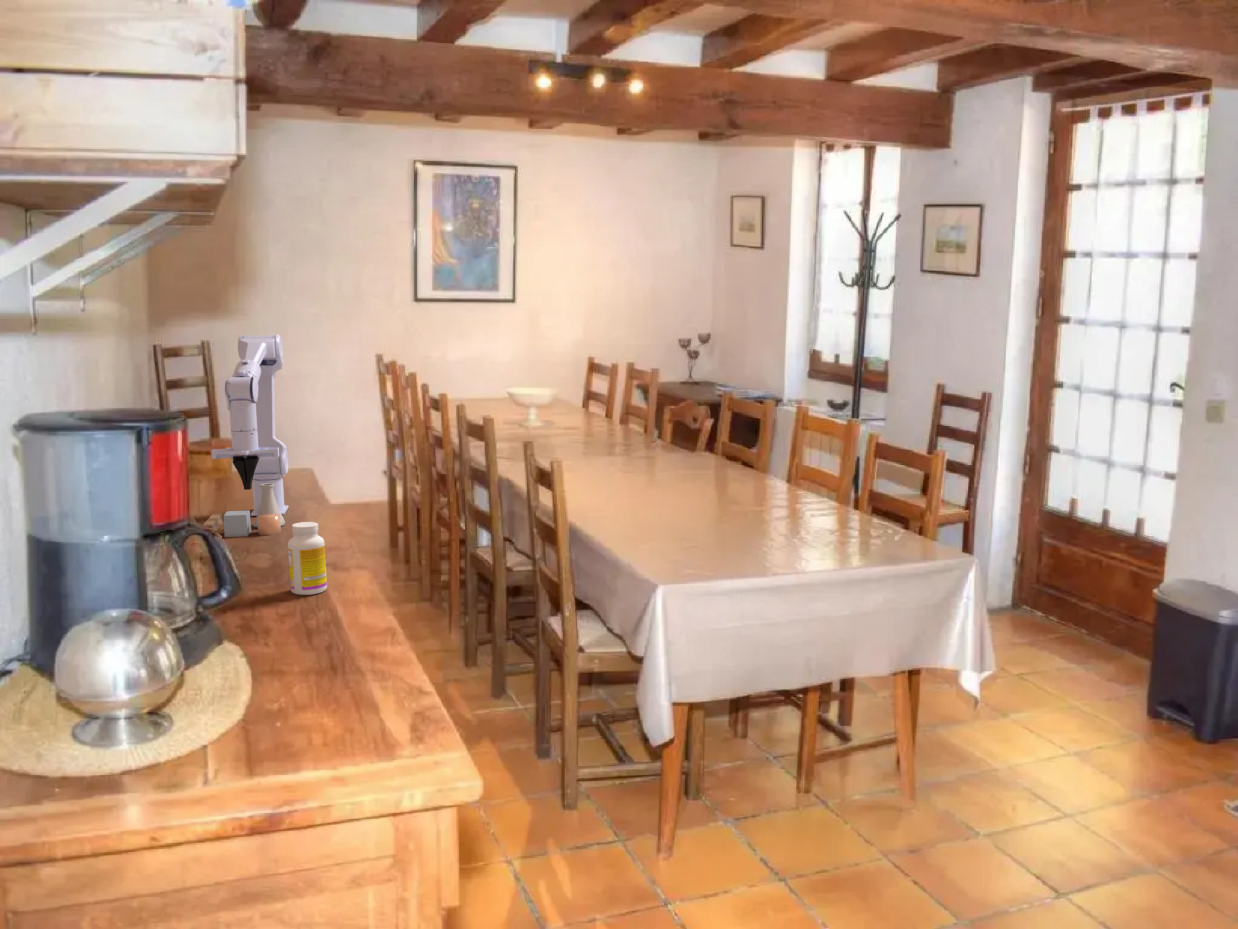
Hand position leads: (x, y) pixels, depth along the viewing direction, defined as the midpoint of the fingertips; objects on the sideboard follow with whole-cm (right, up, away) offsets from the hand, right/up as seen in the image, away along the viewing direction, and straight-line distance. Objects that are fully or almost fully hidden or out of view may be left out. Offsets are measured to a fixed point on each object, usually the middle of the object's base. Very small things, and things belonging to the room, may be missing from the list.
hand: (247, 488), depth 257 cm
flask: (+2, -9, +10) cm, 13 cm away
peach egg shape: (+4, -10, +2) cm, 11 cm away
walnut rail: (-10, -10, +6) cm, 15 cm away
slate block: (-3, -10, +1) cm, 11 cm away
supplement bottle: (+26, -18, -45) cm, 56 cm away
